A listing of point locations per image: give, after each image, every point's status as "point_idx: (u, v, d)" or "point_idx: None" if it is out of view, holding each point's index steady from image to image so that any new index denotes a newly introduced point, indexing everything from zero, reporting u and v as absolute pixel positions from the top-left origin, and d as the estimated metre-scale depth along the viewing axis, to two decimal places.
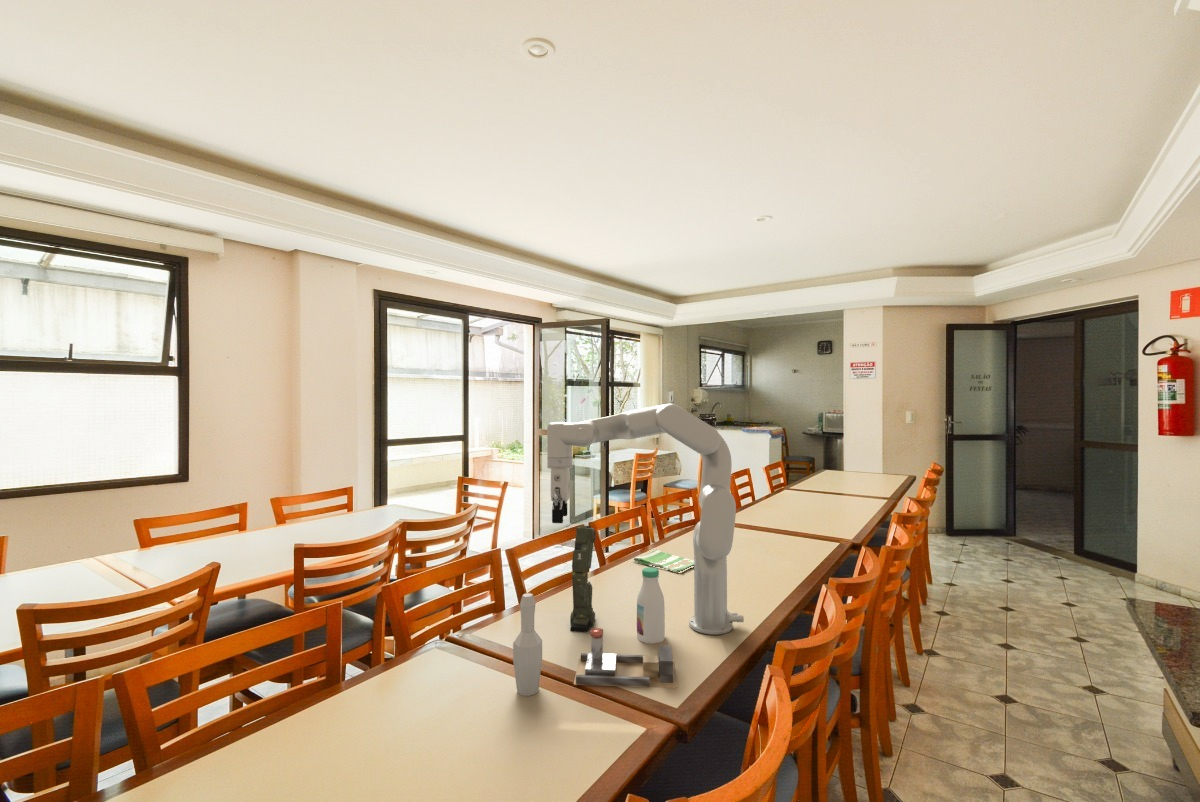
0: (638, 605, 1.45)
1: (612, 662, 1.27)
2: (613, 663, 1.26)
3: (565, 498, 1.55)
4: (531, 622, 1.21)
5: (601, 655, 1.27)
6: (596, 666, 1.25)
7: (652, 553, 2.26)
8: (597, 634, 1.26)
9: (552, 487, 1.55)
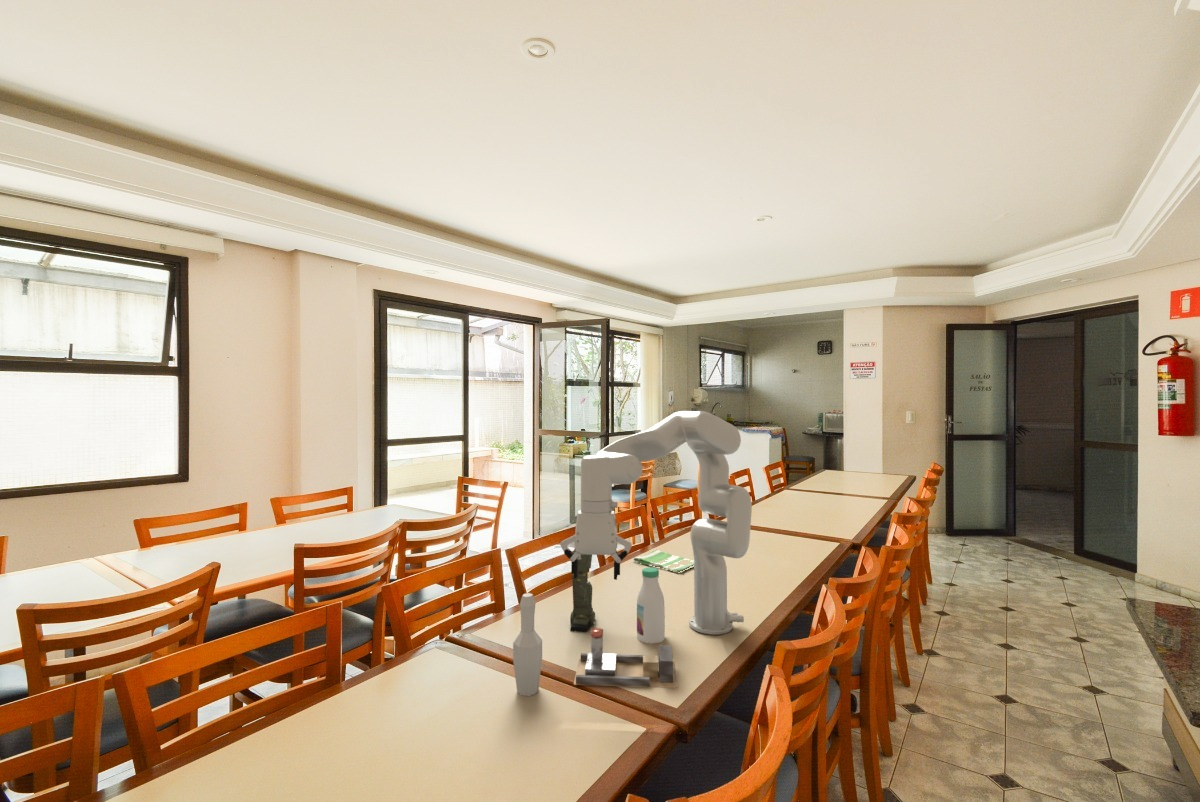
0: (638, 605, 1.45)
1: (612, 662, 1.27)
2: (613, 663, 1.26)
3: None
4: (531, 622, 1.21)
5: (601, 655, 1.27)
6: (596, 666, 1.25)
7: (652, 553, 2.26)
8: (597, 634, 1.26)
9: (615, 536, 1.26)
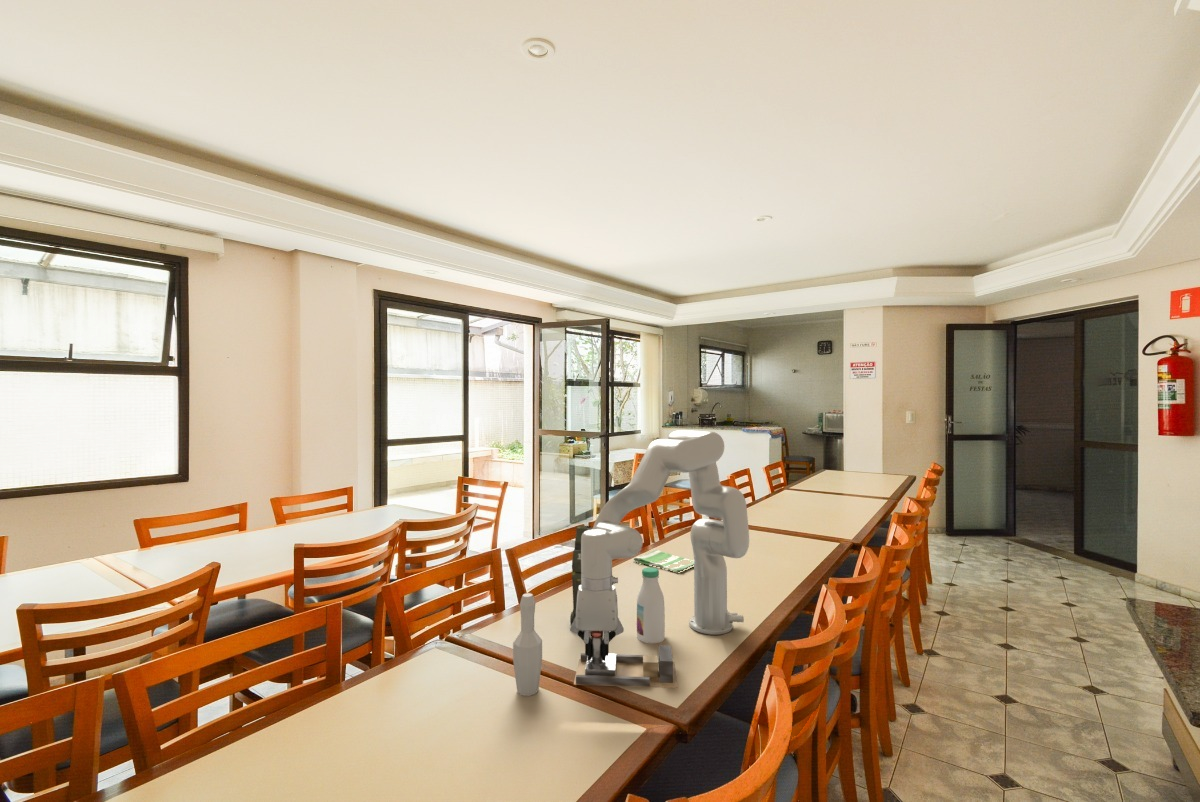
0: (638, 605, 1.45)
1: (612, 662, 1.27)
2: (613, 663, 1.26)
3: None
4: (531, 622, 1.21)
5: (601, 655, 1.27)
6: (596, 666, 1.25)
7: (652, 553, 2.26)
8: (597, 634, 1.26)
9: (616, 612, 1.26)
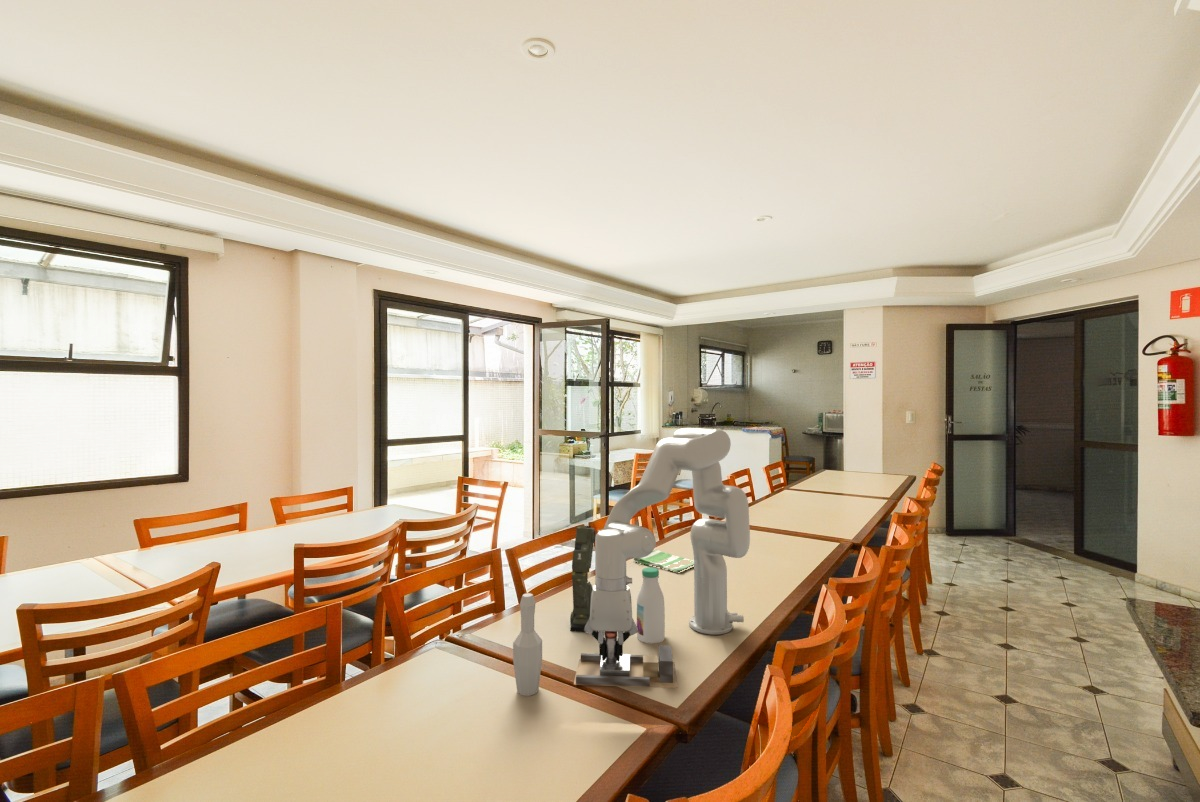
0: (638, 605, 1.45)
1: (626, 663, 1.27)
2: (627, 663, 1.26)
3: None
4: (531, 622, 1.21)
5: (615, 655, 1.27)
6: (611, 667, 1.25)
7: (652, 553, 2.26)
8: (611, 634, 1.26)
9: (631, 612, 1.26)
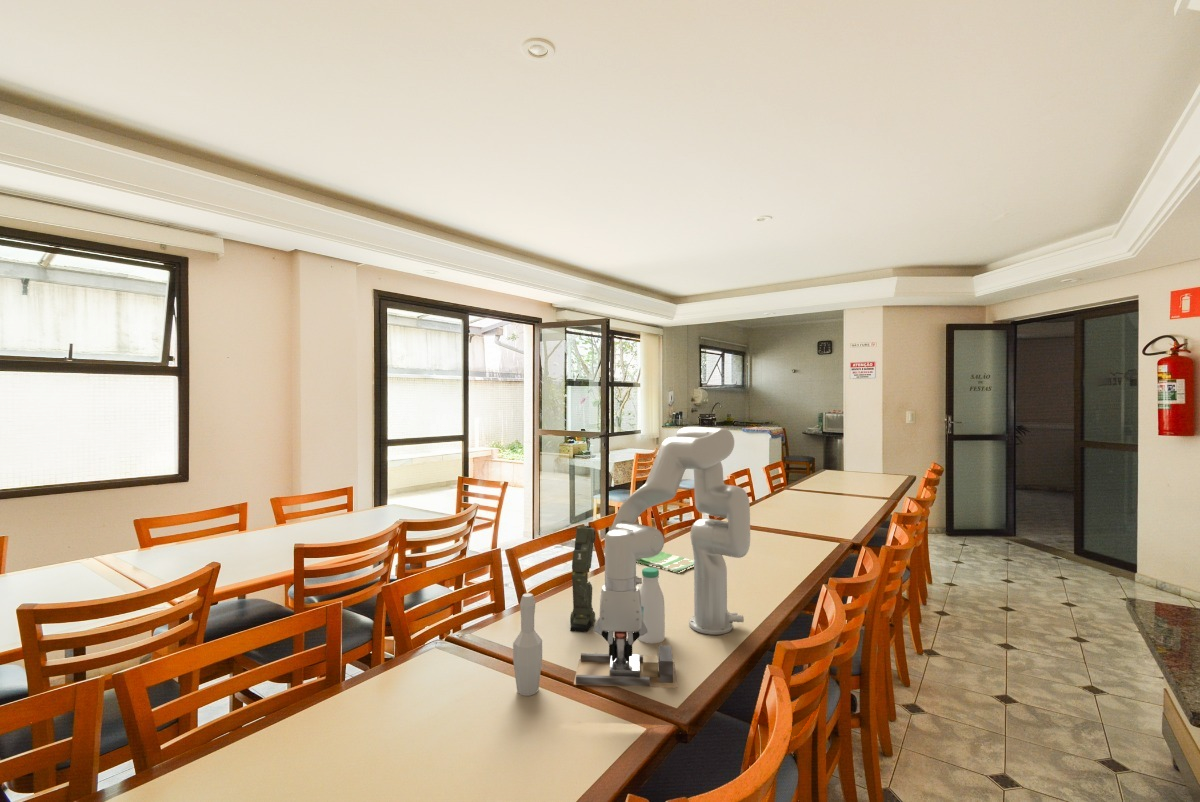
0: None
1: (636, 663, 1.26)
2: (637, 664, 1.26)
3: None
4: (531, 622, 1.21)
5: (625, 656, 1.27)
6: (620, 667, 1.25)
7: None
8: (621, 635, 1.26)
9: (640, 613, 1.26)
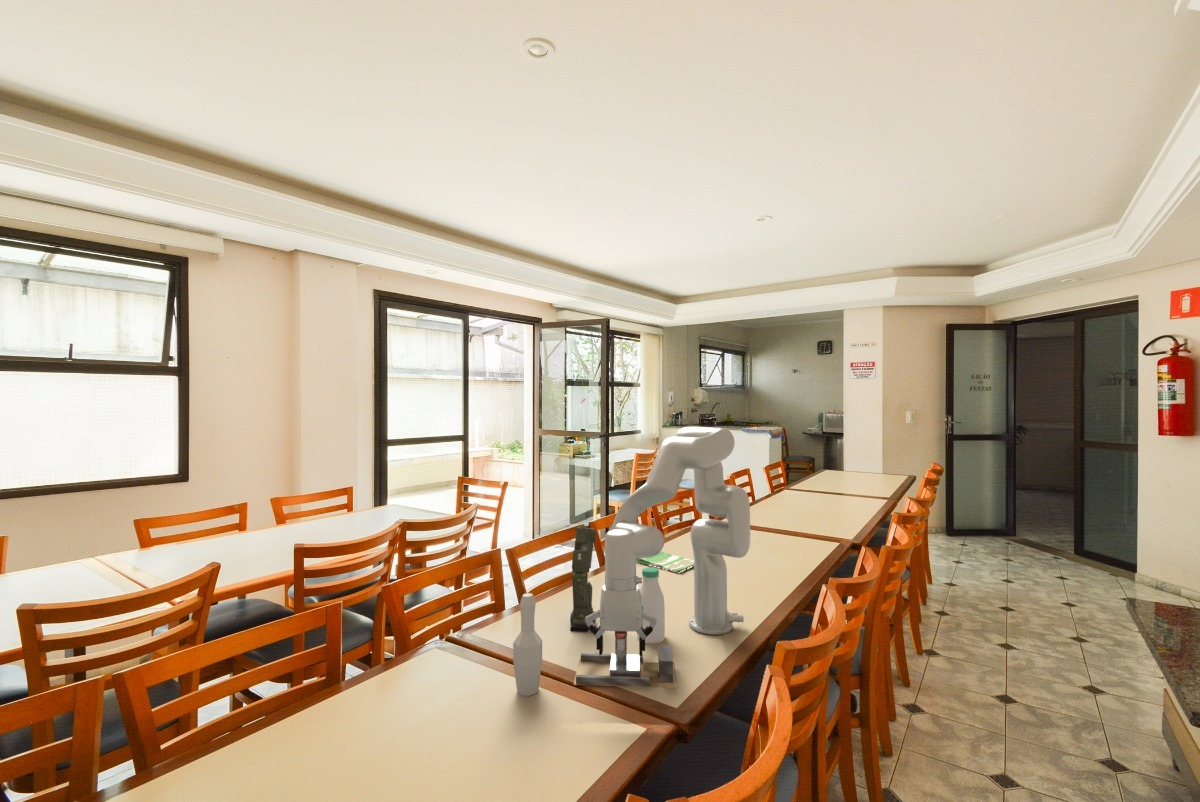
0: None
1: (636, 663, 1.26)
2: (637, 664, 1.26)
3: None
4: (531, 622, 1.21)
5: (625, 656, 1.27)
6: (621, 667, 1.25)
7: None
8: (621, 635, 1.26)
9: (641, 612, 1.26)
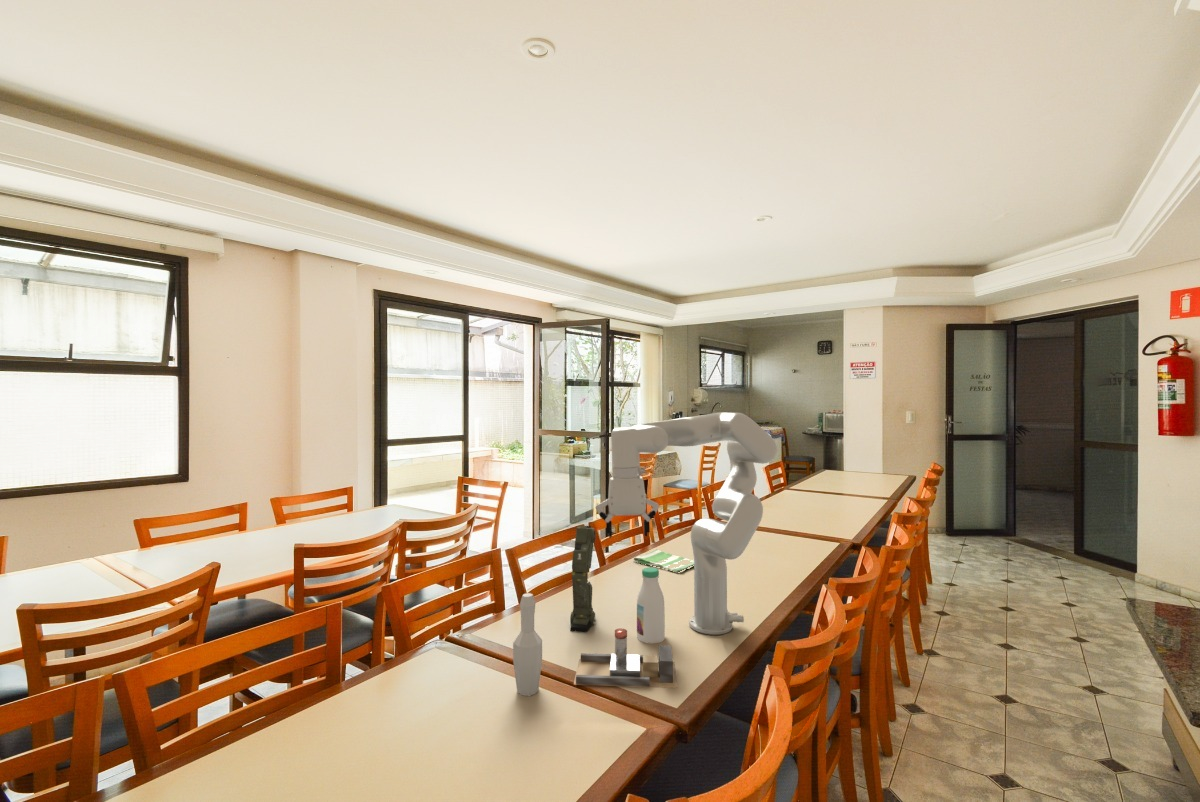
0: (638, 605, 1.45)
1: (636, 663, 1.26)
2: (637, 664, 1.26)
3: None
4: (531, 622, 1.21)
5: (625, 656, 1.27)
6: (621, 667, 1.25)
7: (652, 553, 2.26)
8: (621, 635, 1.26)
9: (645, 498, 1.42)
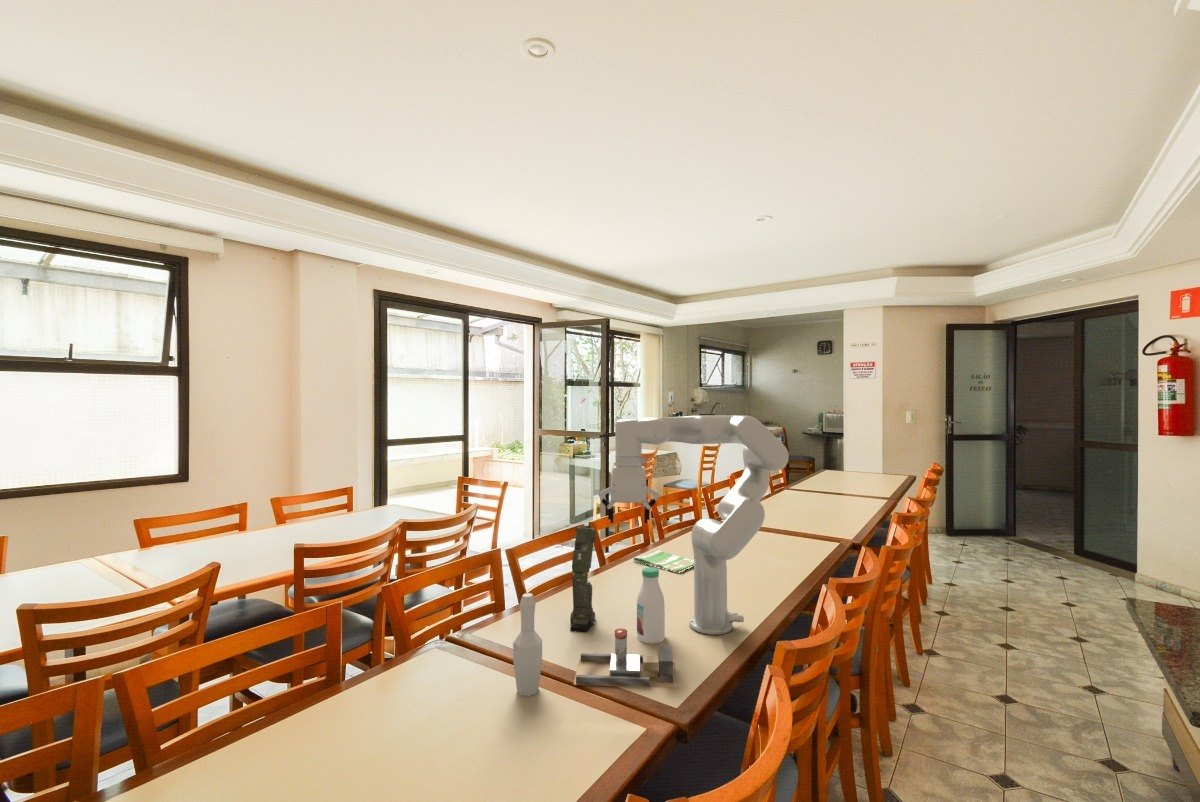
0: (638, 605, 1.45)
1: (636, 663, 1.26)
2: (637, 664, 1.26)
3: None
4: (531, 622, 1.21)
5: (625, 656, 1.27)
6: (621, 667, 1.25)
7: (652, 553, 2.26)
8: (621, 635, 1.26)
9: (645, 486, 1.49)
